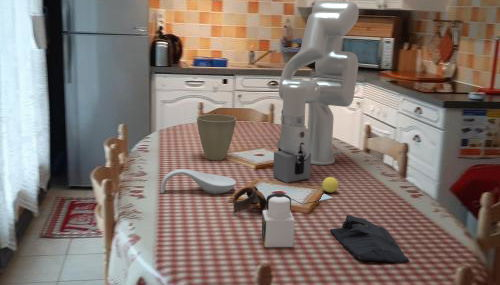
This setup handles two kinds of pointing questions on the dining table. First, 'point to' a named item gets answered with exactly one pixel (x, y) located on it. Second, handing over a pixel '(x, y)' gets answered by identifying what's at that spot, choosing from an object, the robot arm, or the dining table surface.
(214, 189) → the spoon rest
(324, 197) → the pale gray panel
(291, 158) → the plain gray box
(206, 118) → the plant pot
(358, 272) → the dining table surface
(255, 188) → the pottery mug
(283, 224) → the medicine bottle
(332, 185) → the ball
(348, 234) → the dark gray folded cloth
